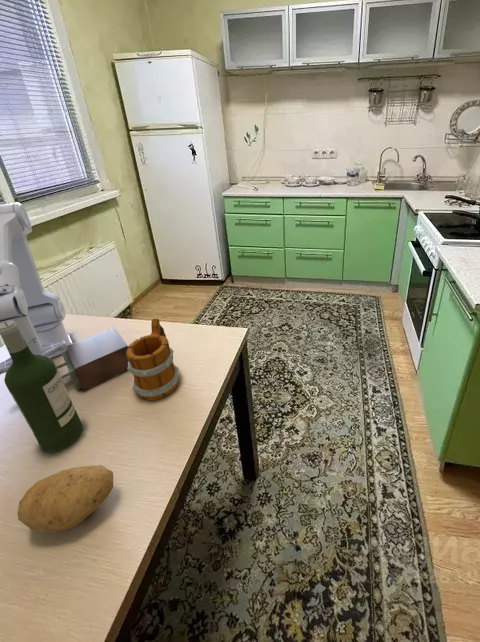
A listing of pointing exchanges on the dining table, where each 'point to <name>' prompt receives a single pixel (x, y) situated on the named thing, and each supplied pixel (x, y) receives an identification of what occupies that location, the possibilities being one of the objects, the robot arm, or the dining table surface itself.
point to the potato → (65, 498)
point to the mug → (152, 364)
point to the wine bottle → (39, 393)
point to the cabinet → (98, 358)
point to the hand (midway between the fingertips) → (43, 383)
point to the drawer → (70, 370)
